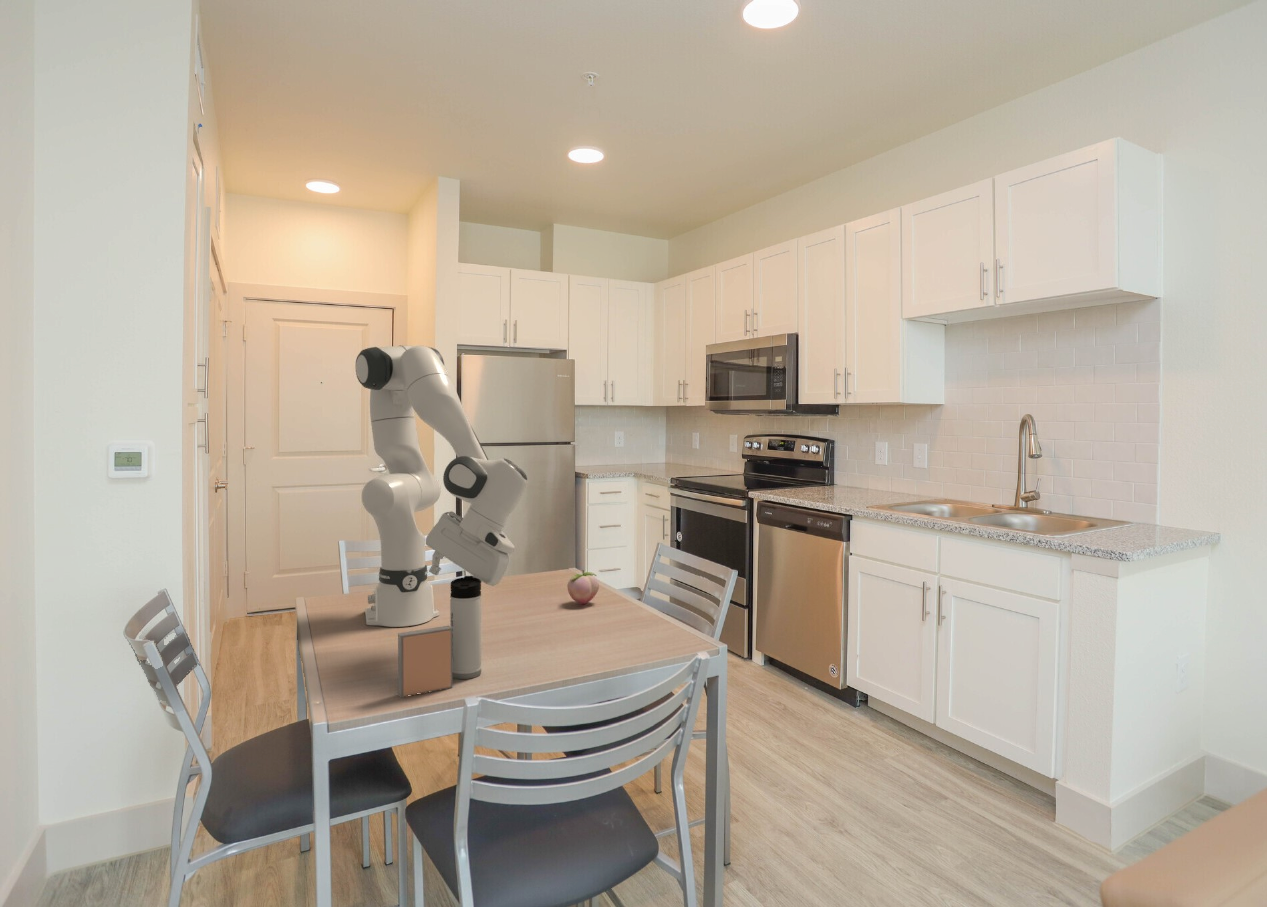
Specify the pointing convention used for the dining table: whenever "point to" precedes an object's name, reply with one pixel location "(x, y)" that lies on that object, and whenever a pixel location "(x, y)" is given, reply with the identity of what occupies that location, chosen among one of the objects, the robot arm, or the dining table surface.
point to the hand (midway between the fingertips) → (448, 583)
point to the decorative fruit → (583, 587)
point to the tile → (424, 660)
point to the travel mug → (466, 627)
